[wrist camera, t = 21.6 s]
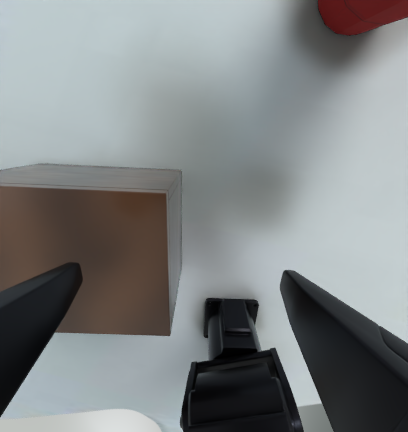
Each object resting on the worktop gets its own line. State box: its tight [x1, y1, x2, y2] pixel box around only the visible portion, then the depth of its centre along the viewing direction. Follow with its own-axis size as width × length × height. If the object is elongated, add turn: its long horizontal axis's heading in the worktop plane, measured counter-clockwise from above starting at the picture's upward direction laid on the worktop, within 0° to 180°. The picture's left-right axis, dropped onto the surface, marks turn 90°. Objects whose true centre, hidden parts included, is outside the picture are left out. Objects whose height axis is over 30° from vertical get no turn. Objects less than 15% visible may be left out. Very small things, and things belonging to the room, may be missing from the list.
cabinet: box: [0, 164, 182, 336], centre depth 17 cm, size 13×11×8 cm
